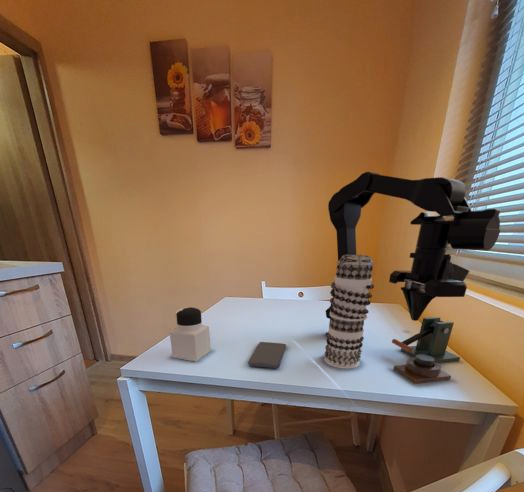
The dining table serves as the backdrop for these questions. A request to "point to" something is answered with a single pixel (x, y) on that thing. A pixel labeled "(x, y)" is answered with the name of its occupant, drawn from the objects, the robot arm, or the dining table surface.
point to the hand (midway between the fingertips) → (414, 320)
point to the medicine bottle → (189, 335)
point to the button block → (421, 372)
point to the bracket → (434, 342)
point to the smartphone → (267, 355)
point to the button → (424, 360)
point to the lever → (416, 337)
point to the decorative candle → (348, 310)
